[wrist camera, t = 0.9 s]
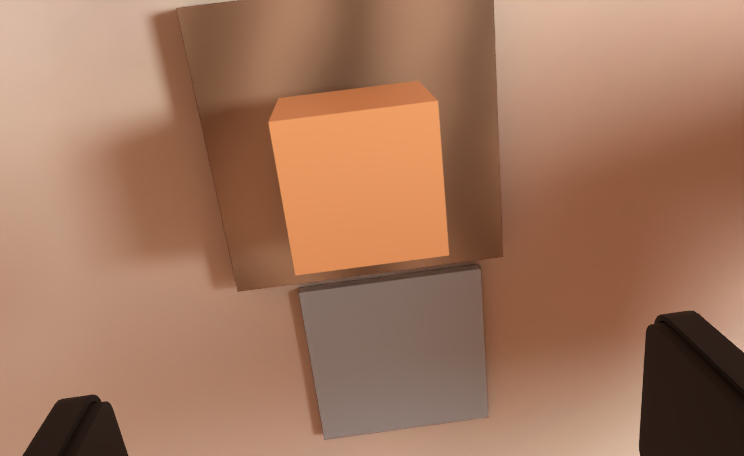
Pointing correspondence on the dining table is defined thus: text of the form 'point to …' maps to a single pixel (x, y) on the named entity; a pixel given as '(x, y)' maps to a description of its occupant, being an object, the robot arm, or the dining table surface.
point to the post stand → (333, 73)
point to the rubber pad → (397, 350)
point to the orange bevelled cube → (361, 176)
